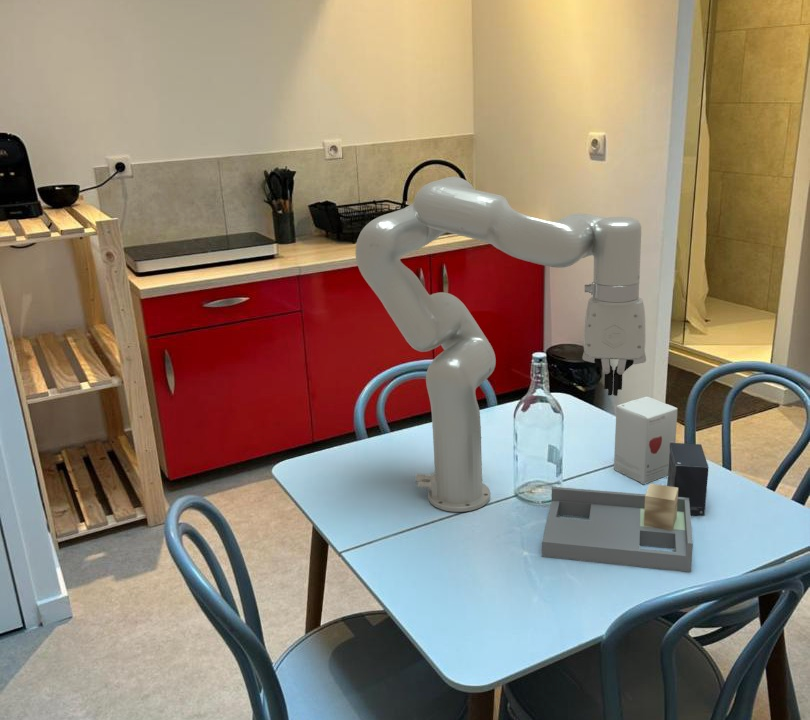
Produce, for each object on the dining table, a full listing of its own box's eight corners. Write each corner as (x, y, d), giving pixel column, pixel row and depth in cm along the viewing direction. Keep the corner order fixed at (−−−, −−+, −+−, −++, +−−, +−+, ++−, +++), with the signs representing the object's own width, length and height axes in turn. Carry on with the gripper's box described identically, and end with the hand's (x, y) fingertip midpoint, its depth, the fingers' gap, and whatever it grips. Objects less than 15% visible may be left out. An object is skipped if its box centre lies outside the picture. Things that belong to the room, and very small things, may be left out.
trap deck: (541, 556, 145) (541, 529, 144) (551, 512, 160) (552, 486, 158) (690, 572, 139) (692, 543, 137) (687, 524, 153) (689, 497, 151)
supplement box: (644, 485, 168) (647, 418, 163) (612, 469, 175) (614, 404, 171) (675, 473, 172) (679, 407, 167) (643, 458, 180) (646, 394, 175)
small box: (706, 516, 155) (710, 466, 152) (670, 515, 157) (673, 465, 153) (699, 490, 165) (702, 442, 162) (665, 488, 166) (668, 441, 163)
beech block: (643, 525, 148) (645, 495, 146) (648, 512, 152) (649, 483, 150) (672, 530, 146) (674, 500, 144) (676, 517, 150) (678, 487, 148)
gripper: (569, 296, 137) (567, 398, 143) (662, 298, 133) (657, 403, 139) (572, 285, 144) (571, 383, 150) (662, 286, 140) (657, 387, 146)
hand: (613, 392), depth 145 cm, fingers closed
